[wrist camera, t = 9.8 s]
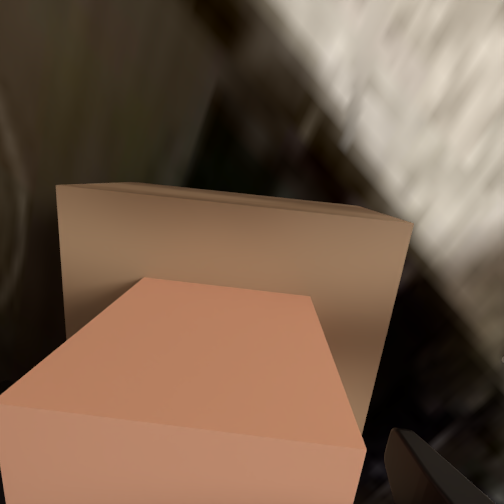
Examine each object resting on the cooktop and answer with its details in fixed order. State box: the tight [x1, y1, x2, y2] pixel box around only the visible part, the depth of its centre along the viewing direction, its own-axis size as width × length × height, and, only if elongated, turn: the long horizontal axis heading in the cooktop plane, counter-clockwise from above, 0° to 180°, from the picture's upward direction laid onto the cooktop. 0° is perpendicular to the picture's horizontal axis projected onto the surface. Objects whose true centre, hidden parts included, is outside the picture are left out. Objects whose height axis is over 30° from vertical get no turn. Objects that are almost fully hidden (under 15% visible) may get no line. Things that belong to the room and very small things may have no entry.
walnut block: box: [56, 182, 414, 436], centre depth 12 cm, size 10×10×5 cm
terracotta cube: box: [0, 277, 367, 504], centre depth 7 cm, size 5×5×5 cm
